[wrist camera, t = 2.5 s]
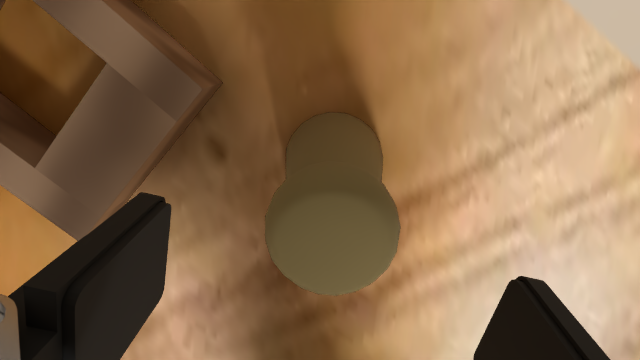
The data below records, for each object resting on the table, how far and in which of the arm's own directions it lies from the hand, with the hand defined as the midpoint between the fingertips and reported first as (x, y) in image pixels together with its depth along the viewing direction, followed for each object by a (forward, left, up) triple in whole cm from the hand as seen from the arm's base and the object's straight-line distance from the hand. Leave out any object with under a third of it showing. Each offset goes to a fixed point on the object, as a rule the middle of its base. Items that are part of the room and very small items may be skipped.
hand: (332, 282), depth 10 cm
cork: (0, +1, -14) cm, 14 cm away
